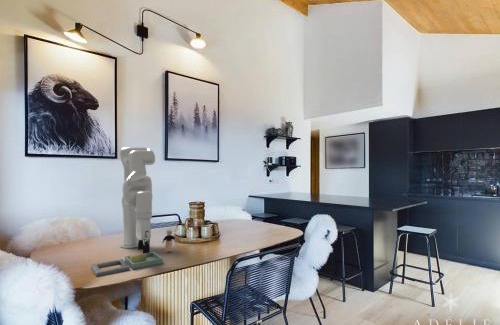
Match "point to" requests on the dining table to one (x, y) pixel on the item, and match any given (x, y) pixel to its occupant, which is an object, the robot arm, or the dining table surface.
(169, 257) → the dining table surface
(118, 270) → the collar block
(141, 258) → the brass peg
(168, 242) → the grandmother figurine
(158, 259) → the tray
